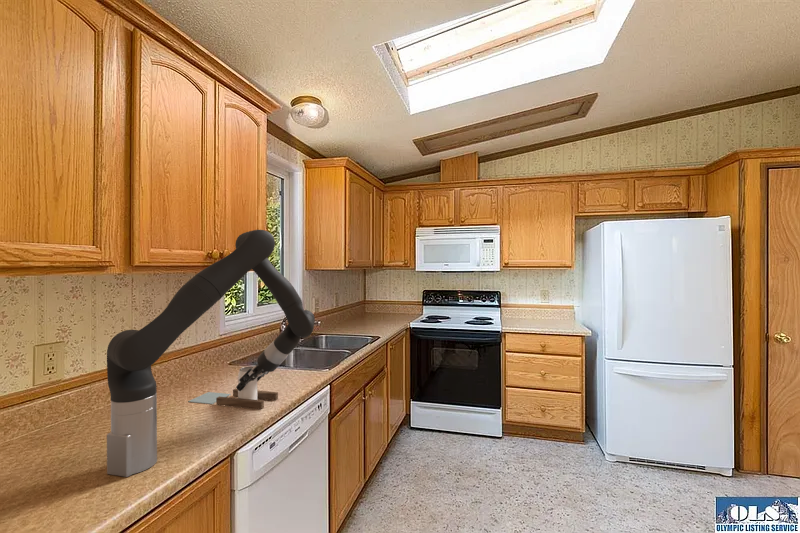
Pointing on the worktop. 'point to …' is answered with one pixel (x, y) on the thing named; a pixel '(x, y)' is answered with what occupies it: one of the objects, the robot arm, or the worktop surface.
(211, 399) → the pad
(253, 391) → the can
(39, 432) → the worktop surface
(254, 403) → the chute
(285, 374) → the worktop surface
